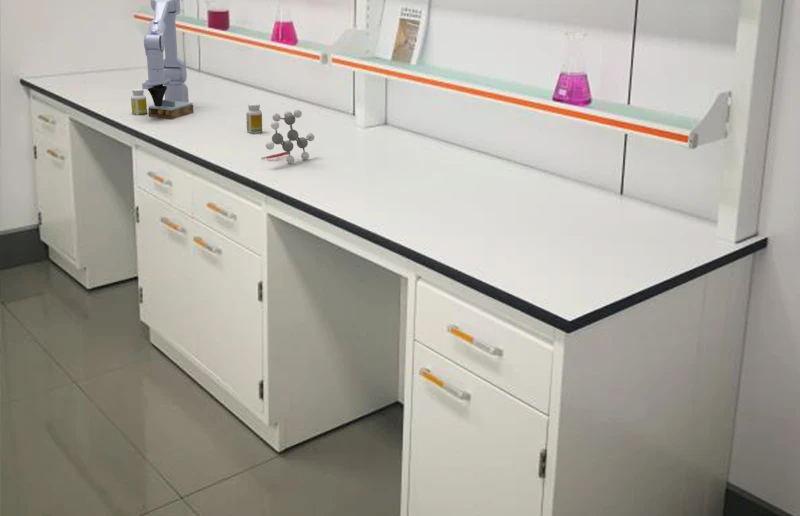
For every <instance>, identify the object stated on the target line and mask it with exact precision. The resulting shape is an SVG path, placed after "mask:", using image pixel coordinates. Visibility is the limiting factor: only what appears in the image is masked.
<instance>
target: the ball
mask: <svg viewBox="0 0 800 516" xmlns="http://www.w3.org/2000/svg"><path fill="white" fill-rule="evenodd" d="M157 113H158V114H161V115H164V114H165V110H162V109H158V110H157Z"/></svg>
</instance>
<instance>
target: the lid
mask: <svg viewBox="0 0 800 516" xmlns="http://www.w3.org/2000/svg"><path fill="white" fill-rule="evenodd" d="M189 105H193V106H194V104H193V102H189V103H188V102H179V101H169V100H165V99H163V101H162V106H160V107H157V106H155V105H154V104H152V105H149V106H148V108H153V109H162V110H170V111H172V110H175V109H179V108H182V107H186V106H189Z"/></svg>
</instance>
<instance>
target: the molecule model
mask: <svg viewBox="0 0 800 516" xmlns="http://www.w3.org/2000/svg"><path fill="white" fill-rule="evenodd" d="M302 115H303V113H302V111H301V110H300V109H295V110H294V111H293V113H292V112H291V111H289V110H286V111H285V112H284V114H283V116H284V117H281V115H280V114H279V113H277V112H276V113H273V115H272V117H271V118H272V121H271V124H270V127H271V129H272V130H274V131H275V133H274V134H273V135H272V136H271V141H270V140H268V141H267V142H266V143H265V147H266V149H267V150H269V151H271V150H273V149H274V148H275V145H281V148H282V150H283V151H284V152H280V153H275V154H271V155H266V156H262V157H260V159H261V160H263V159H272V158H273V159H274V158H279V157H283V156H286V159H285V161H286V163H287V164H289V165H290V164H294V162H295V157H294V156H293V155H291V152H292V151H293V149H294V143H293V142H295V141H296V146H297V147H298V148H300V149H302V151H303V152H302V153H301V154H300V157H301V160H304V161H307V160H308V159H309V158H310V154H309V152H307V151H306V150H305V149H306V148H307V146H308V145H309V142H313V141H314V140H315V135H314V133H311V132H309V133H307V134H306V137H302V136H301V137H299V132H298V131H297V130H296V129H294V128H293V125H294V124H295V122H296V118H297V119H300V118H301V117H302ZM280 120H282V121H283V120H284V123H285V124H286V125H288V126H289V128H290V130H288V132H287V134H286V136H287V139H288V140H284V136H283V134H281V133H280V132H278V129H279V128H280V122H279V121H280ZM308 141H309V142H308Z"/></svg>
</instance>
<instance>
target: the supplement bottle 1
mask: <svg viewBox="0 0 800 516" xmlns="http://www.w3.org/2000/svg"><path fill="white" fill-rule="evenodd" d="M144 90H145V89H142V88H132V94H133V95H131V97H130V104H131V113H132V115H133V116H145V115H148V107H147V97H146V95H145V91H144Z"/></svg>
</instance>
